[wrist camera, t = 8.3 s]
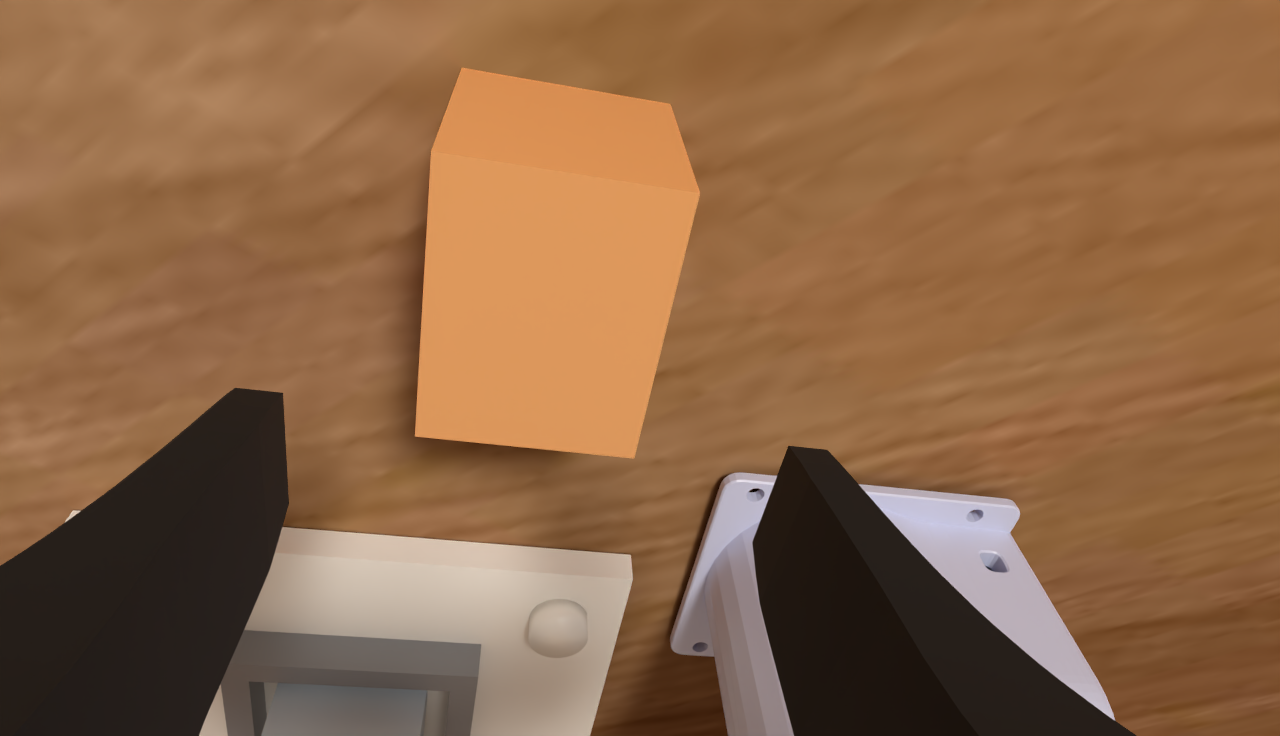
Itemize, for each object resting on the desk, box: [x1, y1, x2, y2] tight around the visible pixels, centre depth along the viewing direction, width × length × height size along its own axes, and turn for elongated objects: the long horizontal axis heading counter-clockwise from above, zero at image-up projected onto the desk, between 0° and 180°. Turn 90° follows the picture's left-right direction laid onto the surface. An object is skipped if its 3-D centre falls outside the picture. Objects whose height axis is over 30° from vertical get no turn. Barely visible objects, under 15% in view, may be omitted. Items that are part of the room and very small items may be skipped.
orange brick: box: [415, 68, 700, 458], centre depth 18 cm, size 4×6×5 cm
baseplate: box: [65, 510, 633, 736], centre depth 28 cm, size 16×16×2 cm
